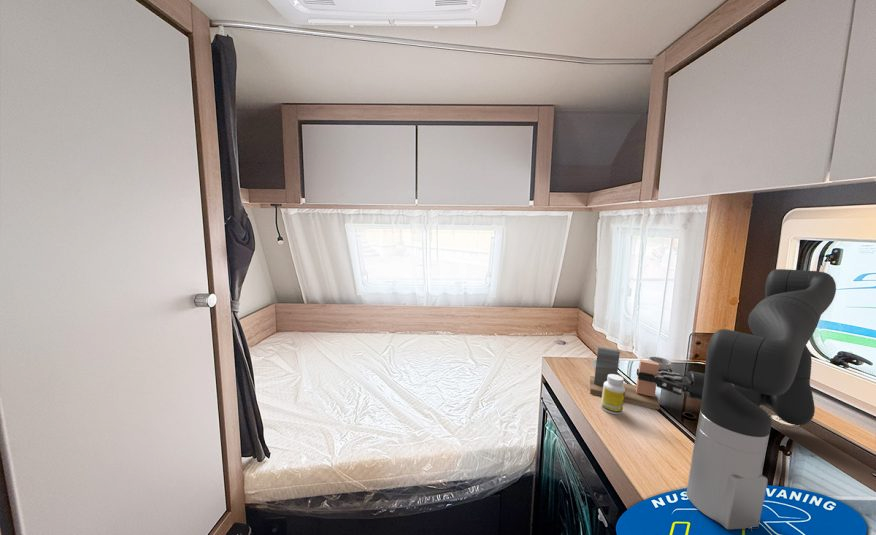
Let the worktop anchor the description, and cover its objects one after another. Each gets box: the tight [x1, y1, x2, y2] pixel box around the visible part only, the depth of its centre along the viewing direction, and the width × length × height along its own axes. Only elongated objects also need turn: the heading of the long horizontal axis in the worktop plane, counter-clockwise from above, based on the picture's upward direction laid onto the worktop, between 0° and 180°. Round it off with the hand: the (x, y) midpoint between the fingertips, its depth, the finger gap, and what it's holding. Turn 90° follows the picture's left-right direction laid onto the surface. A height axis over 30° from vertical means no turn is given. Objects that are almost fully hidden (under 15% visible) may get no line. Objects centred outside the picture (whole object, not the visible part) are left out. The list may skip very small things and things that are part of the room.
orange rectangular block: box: [635, 358, 659, 397], centre depth 96 cm, size 2×5×10 cm, turn 65°
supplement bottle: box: [600, 374, 625, 415], centre depth 90 cm, size 5×5×10 cm
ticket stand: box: [589, 346, 661, 411], centre depth 99 cm, size 10×18×14 cm, turn 65°
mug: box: [647, 356, 673, 369], centre depth 113 cm, size 10×7×7 cm
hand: (637, 373), depth 97 cm, fingers closed on orange rectangular block, 2 cm apart
